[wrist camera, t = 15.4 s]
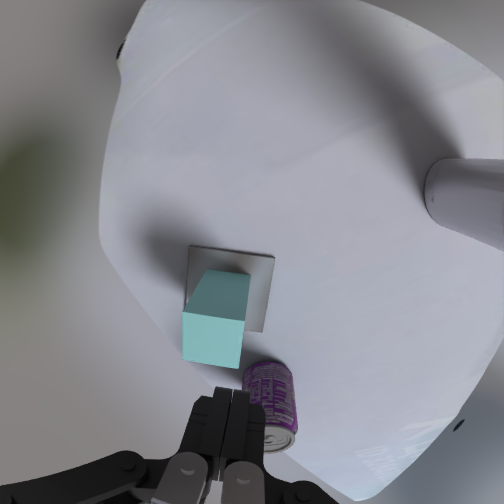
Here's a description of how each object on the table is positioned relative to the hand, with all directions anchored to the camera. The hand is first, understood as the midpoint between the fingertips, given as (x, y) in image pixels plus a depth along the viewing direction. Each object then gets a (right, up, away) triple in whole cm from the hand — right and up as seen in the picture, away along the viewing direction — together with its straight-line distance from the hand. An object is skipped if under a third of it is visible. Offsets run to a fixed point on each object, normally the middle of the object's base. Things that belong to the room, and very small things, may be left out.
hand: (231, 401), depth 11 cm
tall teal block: (-2, +2, +22) cm, 22 cm away
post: (-2, +2, +23) cm, 23 cm away
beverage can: (+3, -12, +26) cm, 29 cm away
